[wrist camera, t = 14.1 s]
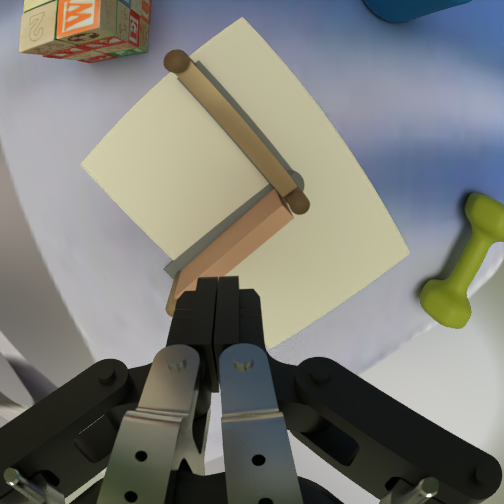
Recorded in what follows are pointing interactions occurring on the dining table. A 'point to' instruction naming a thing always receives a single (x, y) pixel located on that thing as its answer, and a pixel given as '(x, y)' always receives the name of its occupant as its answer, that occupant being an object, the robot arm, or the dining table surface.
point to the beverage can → (409, 8)
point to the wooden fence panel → (237, 128)
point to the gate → (233, 245)
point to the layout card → (250, 183)
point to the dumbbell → (465, 263)
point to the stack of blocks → (85, 28)
